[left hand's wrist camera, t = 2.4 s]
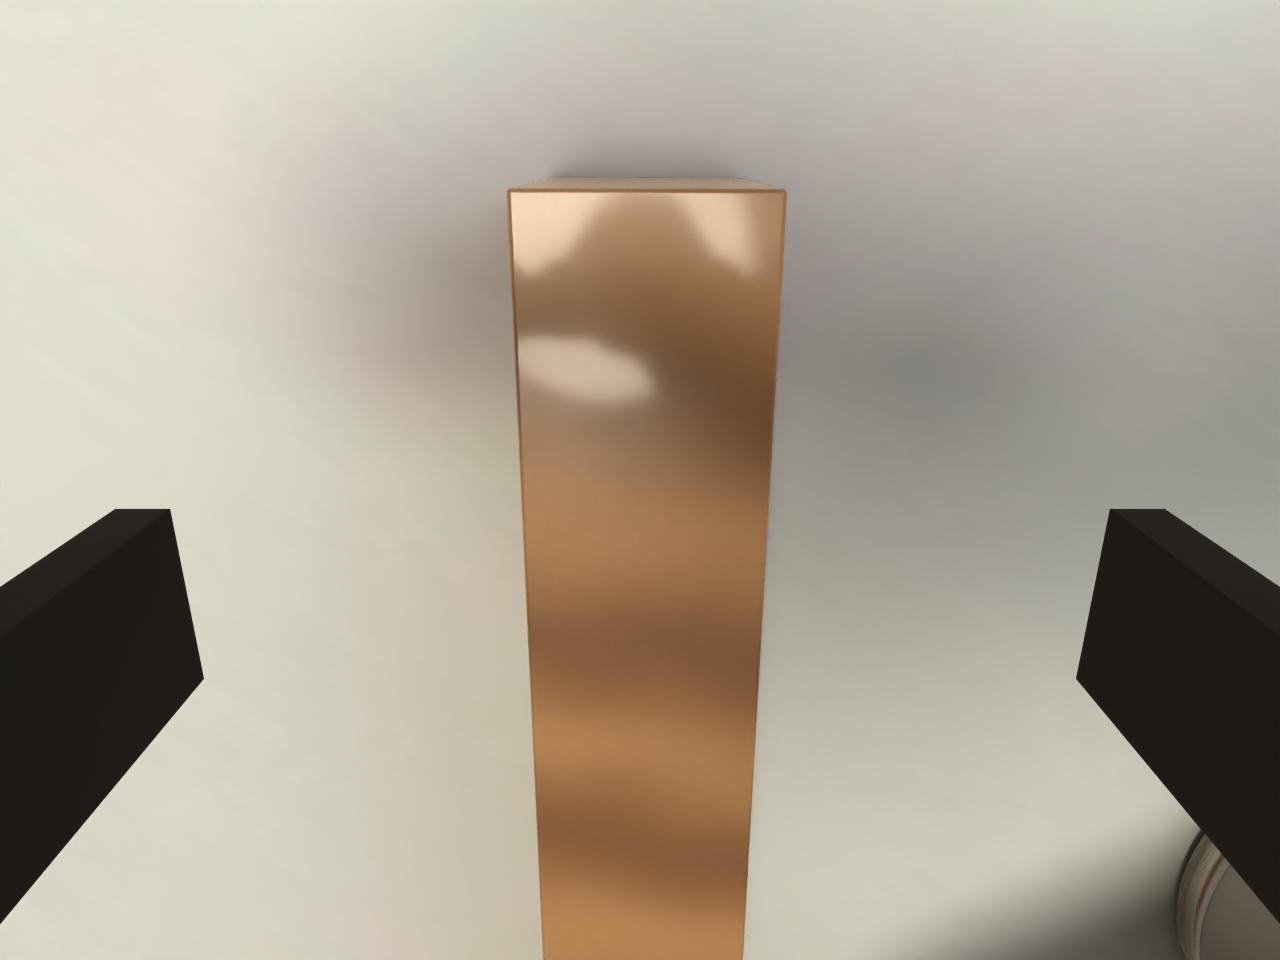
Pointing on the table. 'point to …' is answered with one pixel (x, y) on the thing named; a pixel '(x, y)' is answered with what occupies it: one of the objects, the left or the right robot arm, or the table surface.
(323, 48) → the table surface
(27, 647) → the left robot arm
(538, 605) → the beam
